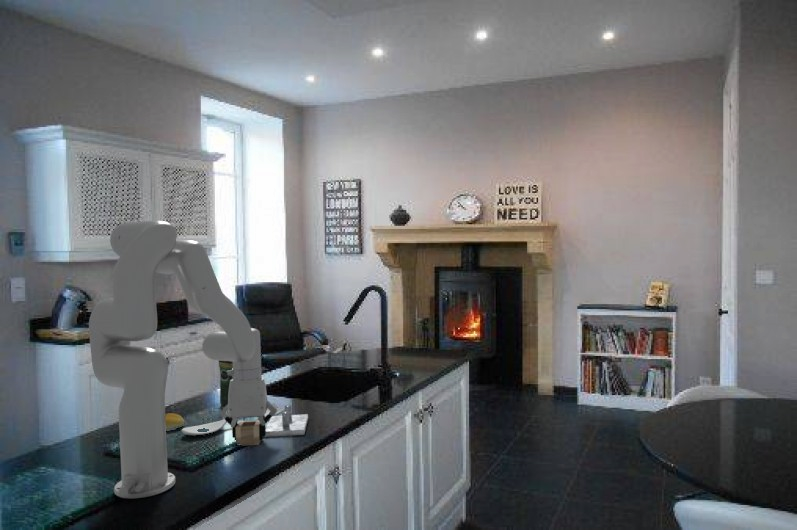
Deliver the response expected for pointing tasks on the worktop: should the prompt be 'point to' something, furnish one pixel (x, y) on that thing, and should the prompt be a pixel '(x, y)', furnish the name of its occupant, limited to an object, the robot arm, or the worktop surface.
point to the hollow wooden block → (248, 432)
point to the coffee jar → (225, 381)
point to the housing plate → (287, 431)
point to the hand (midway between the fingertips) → (249, 438)
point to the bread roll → (173, 420)
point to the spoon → (219, 424)
